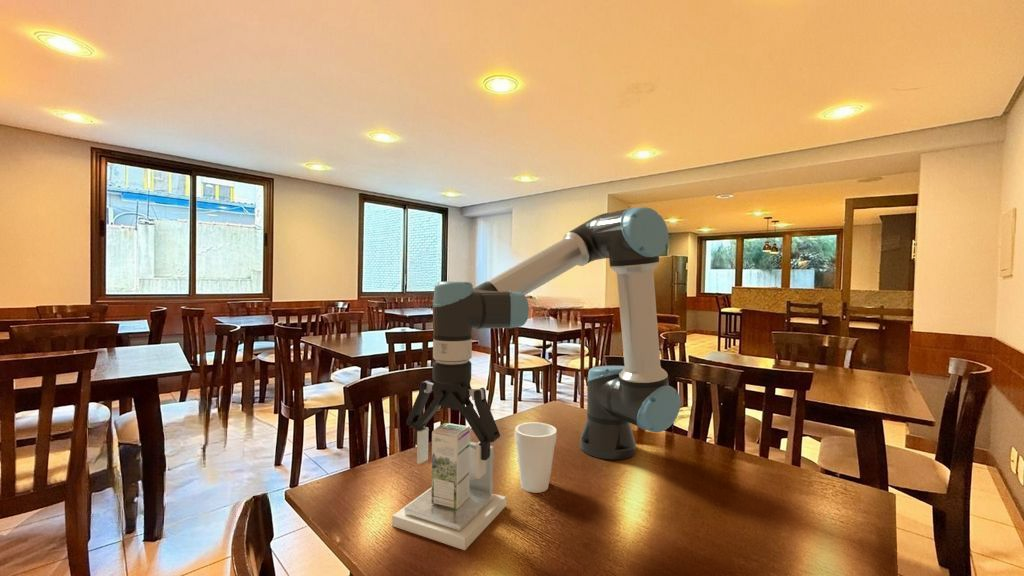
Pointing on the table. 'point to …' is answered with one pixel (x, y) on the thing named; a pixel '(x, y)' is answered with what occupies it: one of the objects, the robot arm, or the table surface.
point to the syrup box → (450, 465)
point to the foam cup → (535, 454)
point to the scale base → (474, 526)
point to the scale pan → (449, 509)
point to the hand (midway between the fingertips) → (450, 468)
